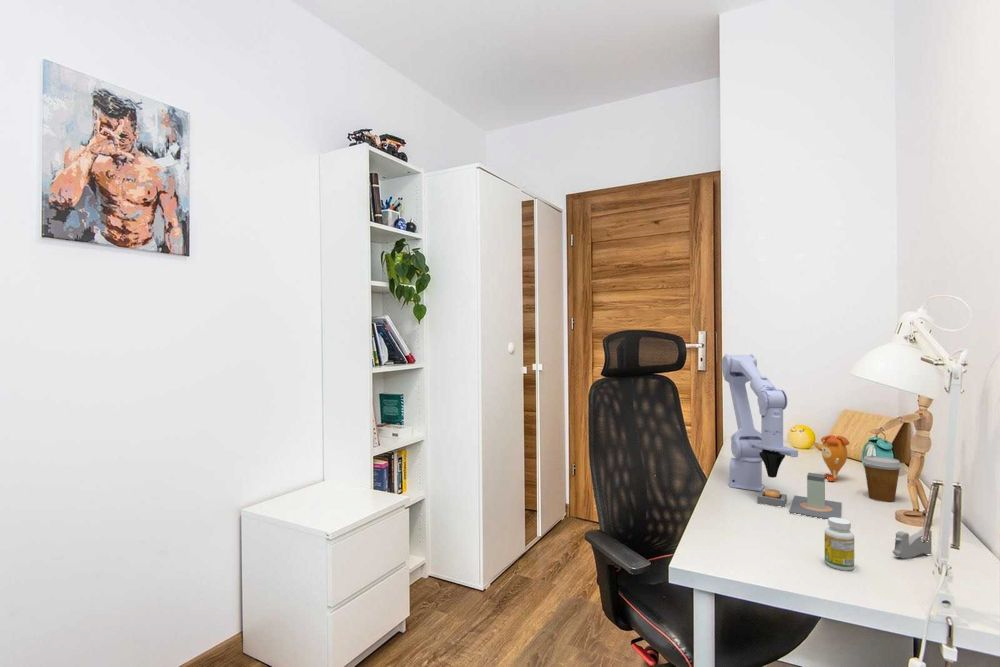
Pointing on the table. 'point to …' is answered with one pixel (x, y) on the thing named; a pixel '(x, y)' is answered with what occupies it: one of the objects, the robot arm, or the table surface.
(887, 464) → the disposable coffee cup
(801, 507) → the drawing mat
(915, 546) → the grey tape dispenser
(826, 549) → the supplement bottle
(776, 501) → the button housing
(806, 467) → the table surface
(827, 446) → the toy figure
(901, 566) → the table surface
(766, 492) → the button
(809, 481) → the grey and green block
